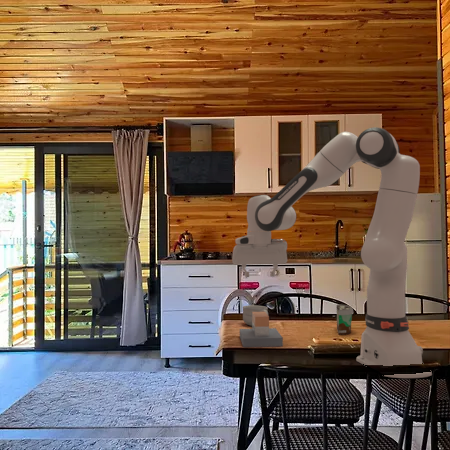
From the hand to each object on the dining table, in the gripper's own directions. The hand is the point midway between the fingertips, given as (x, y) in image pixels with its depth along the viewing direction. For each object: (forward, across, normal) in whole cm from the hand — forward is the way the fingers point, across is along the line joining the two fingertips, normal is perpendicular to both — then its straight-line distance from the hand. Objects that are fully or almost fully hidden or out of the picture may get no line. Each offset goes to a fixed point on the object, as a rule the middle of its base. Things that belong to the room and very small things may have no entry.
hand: (259, 276), depth 148 cm
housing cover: (+17, 0, 0) cm, 17 cm away
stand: (+24, 0, 0) cm, 24 cm away
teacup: (+24, -2, -25) cm, 35 cm away
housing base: (+21, 0, 0) cm, 21 cm away
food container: (+24, -36, -11) cm, 45 cm away
